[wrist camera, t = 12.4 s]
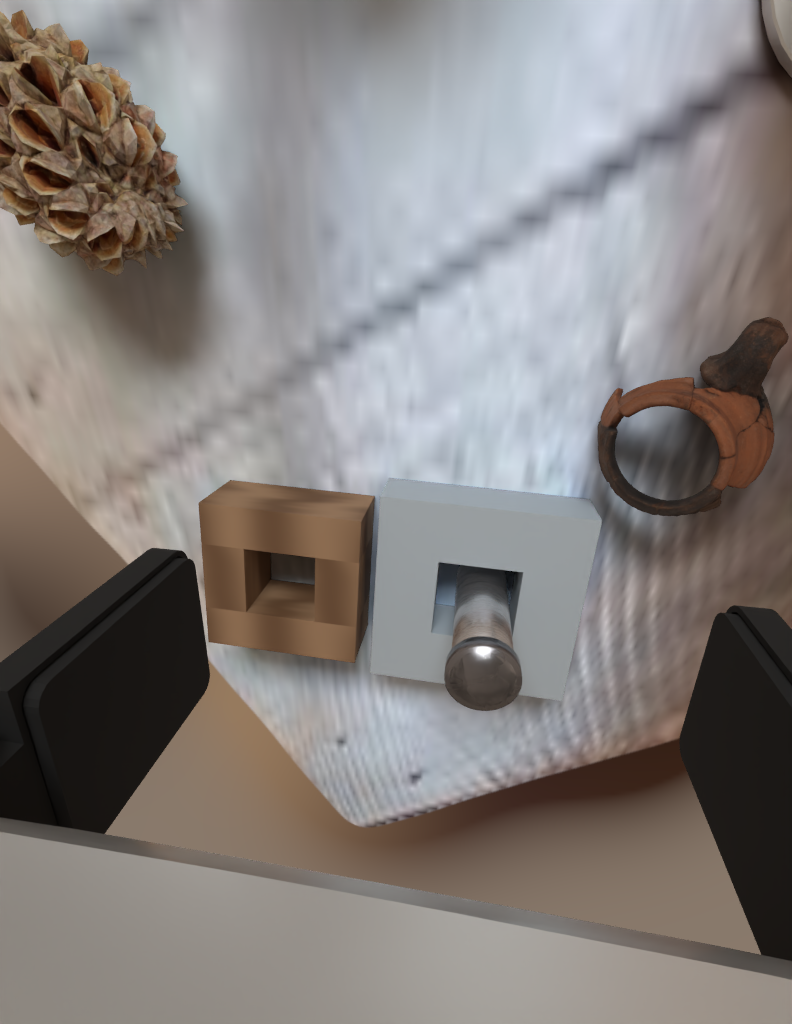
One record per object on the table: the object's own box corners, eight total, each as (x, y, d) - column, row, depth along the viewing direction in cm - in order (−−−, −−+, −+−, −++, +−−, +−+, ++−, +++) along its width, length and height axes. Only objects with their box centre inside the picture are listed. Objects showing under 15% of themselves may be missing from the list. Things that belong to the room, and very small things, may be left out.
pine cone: (254, 195, 33) (169, 153, 24) (168, 311, 37) (65, 314, 28) (-42, -121, 30) (-273, -310, 21) (-108, 40, 33) (-333, -62, 24)
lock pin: (513, 555, 40) (527, 652, 28) (505, 604, 41) (516, 716, 30) (456, 548, 40) (448, 641, 29) (450, 597, 42) (440, 704, 30)
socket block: (589, 499, 37) (602, 520, 34) (554, 666, 42) (562, 701, 39) (389, 478, 39) (380, 496, 35) (378, 642, 44) (369, 673, 40)
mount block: (374, 496, 39) (361, 521, 35) (367, 624, 43) (354, 662, 39) (230, 480, 41) (198, 502, 36) (236, 606, 45) (208, 642, 40)
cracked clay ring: (729, 505, 37) (702, 559, 31) (601, 442, 40) (556, 480, 35) (854, 333, 29) (849, 363, 24) (684, 275, 33) (644, 289, 28)
